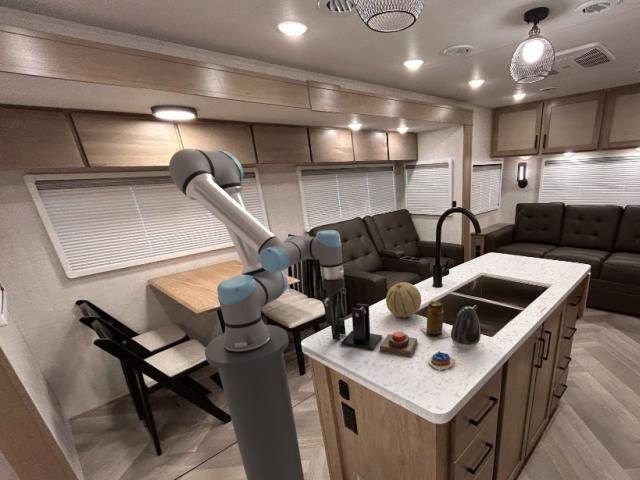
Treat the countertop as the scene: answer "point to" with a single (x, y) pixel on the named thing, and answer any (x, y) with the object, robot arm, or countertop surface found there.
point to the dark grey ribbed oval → (466, 329)
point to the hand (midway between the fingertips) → (339, 336)
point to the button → (398, 336)
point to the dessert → (441, 361)
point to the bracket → (361, 330)
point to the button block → (398, 345)
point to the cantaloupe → (403, 299)
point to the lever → (346, 317)
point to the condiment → (435, 321)
